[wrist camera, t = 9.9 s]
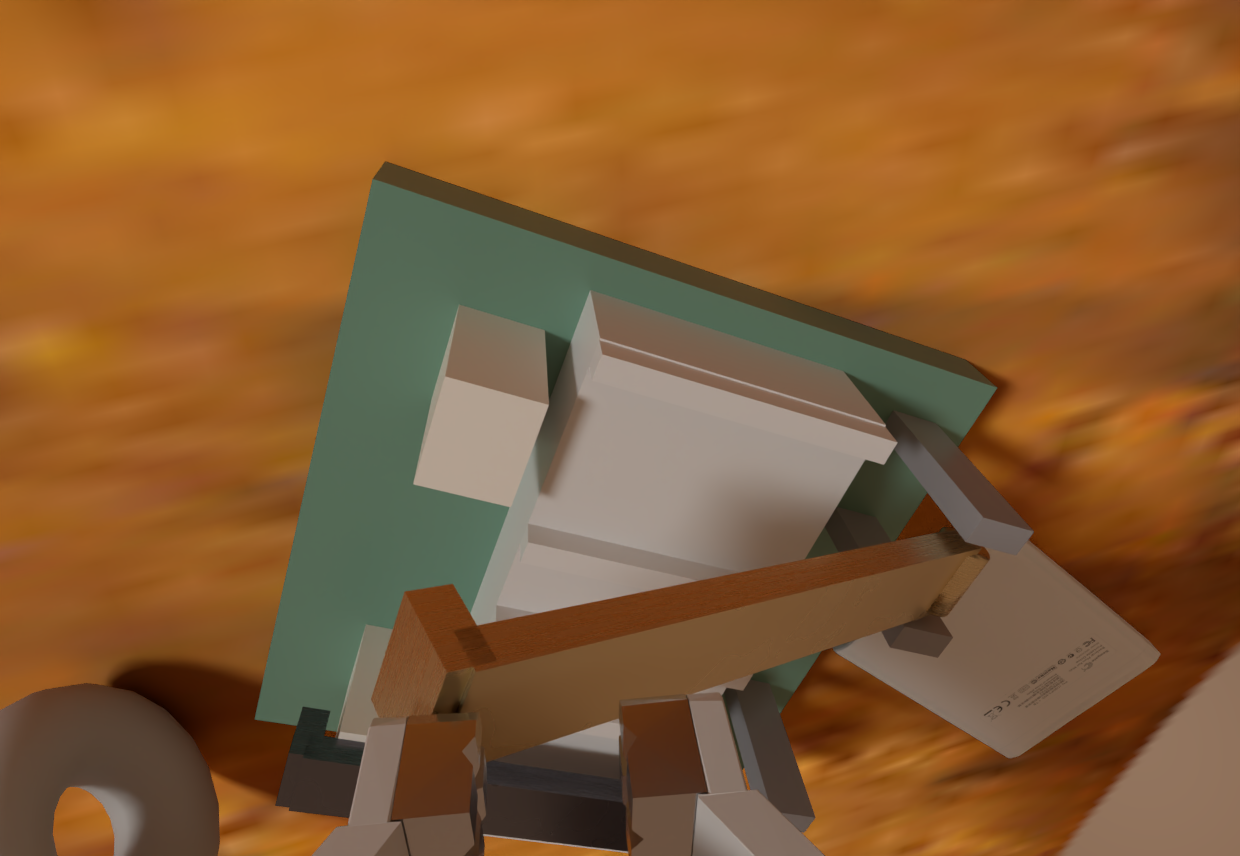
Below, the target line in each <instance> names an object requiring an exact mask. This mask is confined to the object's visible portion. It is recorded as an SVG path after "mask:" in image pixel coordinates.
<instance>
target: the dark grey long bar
mask: <svg viewBox="0 0 1240 856" xmlns="http://www.w3.org/2000/svg"><path fill="white" fill-rule="evenodd" d="M329 715H330V711H329V710H322V709H316V708H310V707H303V708H302V711H301V714H300V718H299V721H298V724H297V727H296V731H295V734H294V737H293V741H292V744H291V747H290V751H289V754H288V758H287V762H286V766H285V770H284V774H283V778H282V782H281V786H280V789H279V793H278V797H277V801H276V805H275V806H283V807H290V808H289V811H297V812H305V813H313V814H322V815H330V816H338V817H347V818H349V817H350V812H351V807H352V803H353V798H354V793H355V789H356V784H357V779H358V774H359V770H360V765H361V760H362V756H363V751H364V746H365V742H359V741H352V740H345V739H338V738H333V737H326V736H324V734H325V730H326V726H327V723H328V719H329ZM486 767H487V807H486V816H485V817H484V819H483V820H482V821H481V822H482V829H483V834H487V835H495V836H504V837H512V838H520V839H529V840H537V841H545V842H553V843H562V844H570V845H578V846H586V847H595V848H603V849H611V850H620V851H628V846H627V837H626V806H625V805H624V804H623V801H622V791H621V781H620V779H613V778H606V777H599V776H592V775H585V774H579V773H572V772H565V771H558V770H551V769H545V768H538V767H531V766H524V765H517V764H510V763H504V762H497V761H489V762H486Z"/></svg>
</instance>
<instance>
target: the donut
mask: <svg viewBox="0 0 1240 856" xmlns="http://www.w3.org/2000/svg"><path fill="white" fill-rule="evenodd" d="M68 787H79V788H81V789H84V790H86V791H88V792H90V793H91V794H92V795H93V796H94V797H96V798H97V799H98V800H99V801H100V802H101V803H102V804H103V806H104V808H105V810H106V812H107V813H108V815H109V817H110V819H111V823H112V827H113V832H114V836H115V842H114V856H217V855H218V850H219V844H220V836H219V804H218V800H217V796H216V792H215V788H214V785H213V781H212V777H211V773H210V769H209V767H208V765H207V763H206V761H205V760H204V758H203V756H202V754H201V752H200V750H199V749H198V747H197V745H196V743H195V741H194V739H193V738H192V736H191V735H190V734H189V733H188V732H187V731H186V730H185V729H184V728H183V727H182V726H181V725H180V724H179V723H178V722H177V721H176V720H175V719H174V718H173V717H172V716H171V715H170V713H169V712H167V711H166V710H165V709H164V708H162V707H161V706H159V705H157V704H155V703H153V702H152V701H150V700H148V699H146V698H145V697H143V696H141V695H139V694H137V693H136V692H134V691H130V690H124V689H119V688H114V687H108V686H103V685H98V684H89V683H84V684H78V685H71V686H65V687H58V688H52V689H45V690H42V691H39V692H35V693H32V694H30V695H28V696H26V697H25V698H23V699H21V700H19V701H17V702H15V703H13V704H11V705H9V706H7V707H5V708H4V709H2V710H0V856H57V852H56V848H55V843H54V838H53V823H54V812H55V809H56V806H57V804H58V801H59V798H60V796H61V795H62V793H63V792H64V791H65V789H66V788H68Z"/></svg>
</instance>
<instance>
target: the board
mask: <svg viewBox="0 0 1240 856" xmlns="http://www.w3.org/2000/svg"><path fill="white" fill-rule="evenodd" d="M996 389H997V387H996V386H995V385H994V384H992V383H991V382H990V381H989V380H988V379H987V378H986V377H985V376H983V375H982V374H981V373H980V372H979V371H978V370H977V369H976V368H974V367H973V366H972V365H971V364H970V363H969V362H968V361H966V360H964V359H962V358H959V357H956V356H953V355H950V354H947V353H944V352H941V351H938V350H935V349H932V348H929V347H926V346H924V345H921V344H918V343H915V342H912V341H909V340H906V339H903V338H900V337H897V336H894V335H891V334H888V333H886V332H883V331H880V330H877V329H874V328H871V327H868V326H865V325H862V324H859V323H856V322H853V321H850V320H847V319H845V318H842V317H839V316H836V315H833V314H830V313H827V312H824V311H821V310H818V309H815V308H812V307H809V306H807V305H804V304H801V303H798V302H795V301H792V300H789V299H786V298H783V297H780V296H777V295H774V294H771V293H769V292H766V291H763V290H760V289H757V288H754V287H751V286H748V285H745V284H742V283H739V282H736V281H733V280H730V279H728V278H725V277H722V276H719V275H716V274H713V273H710V272H707V271H704V270H701V269H698V268H695V267H692V266H690V265H687V264H684V263H681V262H678V261H675V260H672V259H669V258H666V257H663V256H660V255H657V254H654V253H652V252H649V251H646V250H643V249H640V248H637V247H634V246H631V245H628V244H625V243H622V242H619V241H616V240H613V239H611V238H608V237H605V236H602V235H599V234H596V233H593V232H590V231H587V230H584V229H581V228H578V227H575V226H573V225H570V224H567V223H564V222H561V221H558V220H555V219H552V218H549V217H546V216H543V215H540V214H537V213H535V212H532V211H529V210H526V209H523V208H520V207H517V206H514V205H511V204H508V203H505V202H502V201H499V200H496V199H494V198H491V197H488V196H485V195H482V194H479V193H476V192H473V191H470V190H467V189H464V188H461V187H458V186H456V185H453V184H450V183H447V182H444V181H441V180H438V179H435V178H432V177H429V176H426V175H423V174H420V173H418V172H415V171H412V170H409V169H406V168H403V167H400V166H397V165H394V164H391V163H388V162H385V163H384V164H383V165H382V167H381V168H380V170H379V171H378V172H377V174H376V175H375V176H374V178H373V180H372V185H371V189H370V194H369V198H368V203H367V208H366V212H365V217H364V221H363V226H362V230H361V235H360V240H359V244H358V249H357V253H356V258H355V262H354V267H353V272H352V276H351V281H350V285H349V290H348V294H347V299H346V304H345V308H344V313H343V317H342V322H341V326H340V331H339V336H338V340H337V345H336V349H335V354H334V358H333V363H332V368H331V372H330V377H329V381H328V386H327V390H326V395H325V399H324V404H323V409H322V413H321V418H320V422H319V427H318V431H317V436H316V441H315V445H314V450H313V454H312V459H311V463H310V468H309V473H308V477H307V482H306V486H305V491H304V495H303V500H302V505H301V509H300V514H299V518H298V523H297V527H296V532H295V537H294V541H293V546H292V550H291V555H290V559H289V564H288V569H287V573H286V578H285V582H284V587H283V591H282V596H281V601H280V605H279V610H278V614H277V619H276V623H275V628H274V633H273V637H272V642H271V646H270V651H269V655H268V660H267V664H266V669H265V674H264V678H263V683H262V687H261V692H260V696H259V701H258V706H257V710H256V715H255V720H261V721H268V722H275V723H282V724H288V725H295V726H297V724H298V721H299V718H300V714H301V711H302V708H303V707H310V708H316V709H322V710H329V711H330V715H329V719H328V723H327V726H326V730H329V731H336V732H337V733H336V737H335V738H338V739H345V740H352V741H359V742H366V737H367V732H368V728H369V726H370V724H371V722H372V720H373V718H379V717H378V715H377V712H376V710H375V708H374V705H373V703H372V701H371V697H372V694H373V691H374V687H375V684H376V681H377V678H378V675H379V672H380V668H381V665H382V662H383V659H384V656H385V652H386V649H387V646H388V643H389V640H390V636H391V633H392V630H393V627H394V624H395V620H396V617H397V614H398V611H399V608H400V605H401V601H402V598H403V595H404V592H405V591H411V590H417V589H424V588H430V587H436V586H442V585H449V584H453V585H454V587H455V588H456V590H457V592H458V593H459V595H460V597H461V599H462V600H463V602H464V604H465V605H466V607H467V609H468V611H469V612H470V614H471V616H472V618H473V619H474V621H475V623H476V624H477V625H482V624H487V623H492V622H497V621H502V620H507V619H512V618H517V617H522V616H527V615H532V614H536V613H541V612H546V611H551V610H556V609H561V608H566V607H571V606H576V605H581V604H586V603H591V602H596V601H601V600H606V599H611V598H616V597H621V596H626V595H631V594H636V593H640V592H645V591H650V590H655V589H660V588H665V587H670V586H675V585H680V584H685V583H690V582H695V581H700V580H705V579H710V578H715V577H720V576H725V575H730V574H735V573H740V572H744V571H749V570H754V569H759V568H764V567H769V566H774V565H779V564H784V563H789V562H794V561H799V560H804V559H809V558H814V557H819V556H824V555H829V554H834V553H839V552H844V551H848V550H853V549H858V548H863V547H868V546H873V545H878V544H883V543H888V542H893V541H896V539H897V538H898V536H899V535H900V533H901V532H902V530H903V529H904V527H905V526H906V524H907V523H908V521H909V520H910V518H911V517H912V515H913V514H914V512H915V511H916V509H917V508H918V506H919V505H920V503H921V502H922V500H923V499H924V497H925V496H926V494H927V493H928V494H929V495H930V496H931V498H932V499H933V500H934V502H935V503H936V504H937V506H938V507H939V508H940V509H941V511H942V512H943V513H944V515H945V516H946V517H947V519H948V520H949V521H950V522H951V524H952V525H953V526H954V528H955V529H956V530H957V531H958V533H959V534H960V535H961V537H962V538H963V539H964V541H965V542H967V543H971V544H975V545H978V546H982V547H986V548H990V549H993V550H997V551H1001V552H1005V553H1009V554H1012V555H1017V554H1018V552H1019V551H1020V550H1021V548H1022V547H1023V546H1024V545H1025V543H1026V542H1027V541H1028V539H1029V538H1030V537H1031V535H1032V534H1033V533H1034V531H1033V530H1032V529H1031V528H1030V526H1029V525H1028V524H1027V523H1026V522H1025V521H1024V520H1023V519H1022V518H1021V517H1020V515H1019V514H1018V513H1017V512H1016V511H1015V510H1014V509H1013V508H1012V507H1011V506H1010V504H1009V503H1008V502H1007V501H1006V500H1005V499H1004V498H1003V497H1002V496H1001V495H1000V493H999V492H998V491H997V490H996V489H995V488H994V487H993V486H992V485H991V483H990V482H989V481H988V480H987V479H986V478H985V477H984V476H983V475H982V474H981V472H980V471H979V470H978V469H977V468H976V467H975V466H974V465H973V464H972V463H971V461H970V460H969V459H968V458H967V457H966V456H965V455H964V454H963V453H962V451H961V450H960V449H959V448H958V446H959V445H960V443H961V442H962V440H963V439H964V437H965V436H966V434H967V433H968V431H969V430H970V428H971V427H972V425H973V424H974V422H975V421H976V419H977V418H978V416H979V415H980V413H981V412H982V410H983V409H984V407H985V406H986V404H987V403H988V401H989V400H990V398H991V397H992V395H993V394H994V392H995V391H996ZM881 632H882V634H883V636H884V638H885V640H886V641H887V643H888V645H889V647H890V648H894V649H899V650H904V651H908V652H913V653H918V654H922V655H927V656H932V657H936V658H938V657H939V656H940V654H941V653H942V652H943V650H944V649H945V648H946V646H947V645H948V644H949V643H950V641H951V640H952V639H953V636H952V635H951V633H950V632H949V630H948V629H947V627H946V626H945V624H944V622H943V621H942V619H941V618H940V617H938V616H934V615H929V616H926V617H923V618H920V619H917V620H914V621H911V622H908V623H905V624H902V625H899V626H896V627H893V628H890V629H887V630H884V631H881ZM821 652H822V651H820V652H817V653H814V654H811V655H808V656H805V657H802V658H799V659H796V660H793V661H790V662H787V663H784V664H781V665H778V666H775V667H772V668H769V669H766V670H763V671H760V672H757V673H754V674H751V675H748V676H745V677H742V678H739V679H736V680H733V681H730V682H727V683H724V684H721V685H718V686H715V687H712V688H709V689H706V690H703V691H700V692H697V693H694V694H700V693H713V692H719V693H720V695H721V696H722V697H723V700H724V704H725V708H726V711H727V715H728V719H729V723H730V726H731V730H732V734H733V738H734V741H735V745H736V749H737V753H738V756H739V760H740V764H741V768H742V770H743V768H745V771H746V775H747V779H748V782H749V786H750V789H751V790H758V791H759V792H760V793H761V794H762V795H763V796H764V797H766V798H767V799H768V800H769V801H770V802H771V803H772V804H773V805H774V806H775V807H776V808H777V809H778V810H779V811H780V812H781V813H782V814H783V815H784V816H785V817H786V818H787V819H788V820H789V821H790V822H791V823H792V824H793V825H794V826H795V827H796V828H797V829H798V830H799V831H800V832H805V831H806V829H807V828H808V827H809V825H810V824H811V823H812V822H813V820H814V819H815V815H814V812H813V809H812V806H811V803H810V800H809V798H808V795H807V792H806V789H805V786H804V783H803V780H802V777H801V774H800V771H799V768H798V766H797V763H796V760H795V757H794V754H793V751H792V748H791V745H790V742H789V739H788V736H787V733H786V731H785V728H784V725H783V722H782V719H781V716H780V713H781V711H782V710H783V708H784V707H785V705H786V704H787V702H788V701H789V699H790V698H791V696H792V695H793V693H794V692H795V690H796V689H797V687H798V686H799V684H800V683H801V681H802V680H803V678H804V677H805V675H806V674H807V672H808V671H809V669H810V668H811V666H812V665H813V663H814V662H815V660H816V659H817V657H818V656H819V654H820V653H821ZM620 735H621V733H620V724H619V718H618V719H615V720H612V721H609V722H606V723H603V724H600V725H597V726H594V727H591V728H588V729H585V730H582V731H579V732H576V733H573V734H570V735H567V736H564V737H561V738H558V739H555V740H552V741H549V742H546V743H543V744H540V745H537V746H534V747H531V748H528V749H525V750H522V751H519V752H516V753H513V754H510V755H507V756H504V757H501V758H498V759H495V760H492V761H497V762H504V763H510V764H517V765H524V766H531V767H538V768H545V769H551V770H558V771H565V772H572V773H579V774H585V775H592V776H599V777H606V778H613V779H620V768H619V736H620ZM483 836H491V837H499V838H507V839H516V840H524V841H533V842H541V843H549V844H558V845H566V846H574V847H583V848H591V849H599V850H608V851H616V852H624V853H628V851H620V850H611V849H603V848H595V847H586V846H578V845H570V844H562V843H553V842H545V841H537V840H529V839H520V838H512V837H504V836H495V835H487V834H483Z"/></svg>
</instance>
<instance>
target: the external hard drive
mask: <svg viewBox="0 0 1240 856" xmlns="http://www.w3.org/2000/svg"><path fill="white" fill-rule="evenodd" d="M985 549H986V550H987V551H988V553H989V555H990V560H989V561H988V563H987V564H986V565H985V567H984V568H983V569H982V571H981V572H980V573H979V575H978V576H977V578H976V579H975V580H974V582H973V583H972V584H971V586H970V587H969V588H968V590H967V591H966V592H965V594H964V595H963V596H962V598H961V599H960V600H959V602H958V603H957V604H956V606H955V607H954V608H953V610H952V611H951V612H950V614H949V615H948V616H946V617H940V618H941V619H942V621H943V622H944V624H945V626H946V627H947V629H948V630H949V632H950V633H951V635H952V636H953V639H952V640H951V641H950V643H949V644H948V645H947V646H946V648H945V649H944V650H943V652H942V653H941V654H940V656H939V657H938V658H936V657H932V656H927V655H922V654H918V653H913V652H908V651H904V650H899V649H894V648H890V647H889V645H888V643H887V641H886V640H885V638H884V636H883V634H882V632H878V633H875V634H872V635H869V636H866V637H863V638H860V639H857V640H854V641H850V642H847V643H844V644H841V645H838V646H835V647H833V650H834V651H835V652H836V653H837V654H838V655H840V656H842V657H843V658H845V659H847V660H848V661H850V662H852V663H853V664H855V665H856V666H858V667H860V668H862V669H863V670H865V671H866V672H868V673H870V674H871V675H873V676H875V677H876V678H878V679H880V680H881V681H883V682H884V683H886V684H888V685H889V686H891V687H893V688H894V689H896V690H897V691H899V692H901V693H902V694H904V695H906V696H907V697H909V698H911V699H912V700H914V701H916V702H917V703H919V704H920V705H922V706H924V707H925V708H927V709H928V710H930V711H932V712H933V713H935V714H937V715H938V716H940V717H942V718H943V719H945V720H947V721H948V722H950V723H951V724H953V725H955V726H956V727H958V728H960V729H961V730H963V731H965V732H966V733H968V734H970V735H971V736H973V737H974V738H976V739H978V740H979V741H981V742H983V743H984V744H986V745H988V746H989V747H991V748H993V749H994V750H995V751H997V752H999V753H1000V754H1002V755H1004V756H1005V757H1007V758H1014V757H1018V756H1020V755H1021V754H1023V753H1024V752H1026V751H1027V750H1029V749H1030V748H1032V747H1033V746H1034V745H1036V744H1037V743H1039V742H1040V741H1042V740H1043V739H1045V738H1046V737H1048V736H1049V735H1051V734H1052V733H1053V732H1055V731H1056V730H1058V729H1059V728H1061V727H1062V726H1063V725H1065V724H1066V723H1068V722H1069V721H1071V720H1072V719H1074V718H1075V717H1077V716H1078V715H1080V714H1081V713H1083V712H1084V711H1086V710H1087V709H1089V708H1090V707H1092V706H1093V705H1095V704H1096V703H1098V702H1099V701H1101V700H1102V699H1104V698H1105V697H1107V696H1108V695H1110V694H1111V693H1112V692H1114V691H1115V690H1117V689H1118V688H1120V687H1121V686H1123V685H1124V684H1126V683H1127V682H1129V681H1130V680H1132V679H1133V678H1135V677H1136V676H1137V675H1139V674H1140V673H1142V672H1143V671H1145V670H1146V669H1148V668H1149V667H1150V666H1152V665H1153V664H1154V663H1155V662H1156V661H1157V660H1158V658H1159V656H1160V655H1161V654H1160V652H1159V651H1158V650H1157V649H1156V648H1155V647H1154V646H1153V645H1152V643H1151V642H1150V641H1149V640H1148V639H1146V638H1145V637H1144V636H1143V635H1142V634H1141V633H1139V632H1138V631H1137V630H1135V629H1134V628H1133V627H1132V626H1131V625H1130V624H1129V623H1127V622H1126V621H1125V620H1124V619H1123V618H1121V617H1120V616H1119V615H1118V614H1117V613H1115V612H1114V611H1113V610H1112V609H1111V608H1109V607H1108V606H1107V605H1106V604H1105V603H1103V602H1102V601H1101V600H1100V599H1099V598H1098V597H1096V596H1095V595H1094V594H1093V593H1092V592H1090V591H1089V590H1088V589H1087V588H1086V587H1084V586H1083V585H1082V584H1081V583H1080V582H1078V581H1077V580H1076V579H1075V578H1074V577H1072V576H1071V575H1070V574H1069V573H1068V572H1066V571H1065V570H1064V569H1063V568H1061V567H1060V566H1059V565H1058V564H1057V563H1055V562H1054V561H1053V560H1052V559H1051V558H1049V557H1048V556H1047V555H1046V554H1045V553H1043V552H1042V551H1041V550H1040V549H1039V548H1037V547H1036V546H1035V545H1034V544H1033V543H1031V542H1030V541H1029V540H1028V541H1027V542H1026V543H1025V545H1024V546H1023V547H1022V548H1021V550H1020V551H1019V552H1018V554H1017V555H1012V554H1009V553H1005V552H1001V551H997V550H993V549H990V548H986V547H985Z"/></svg>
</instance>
